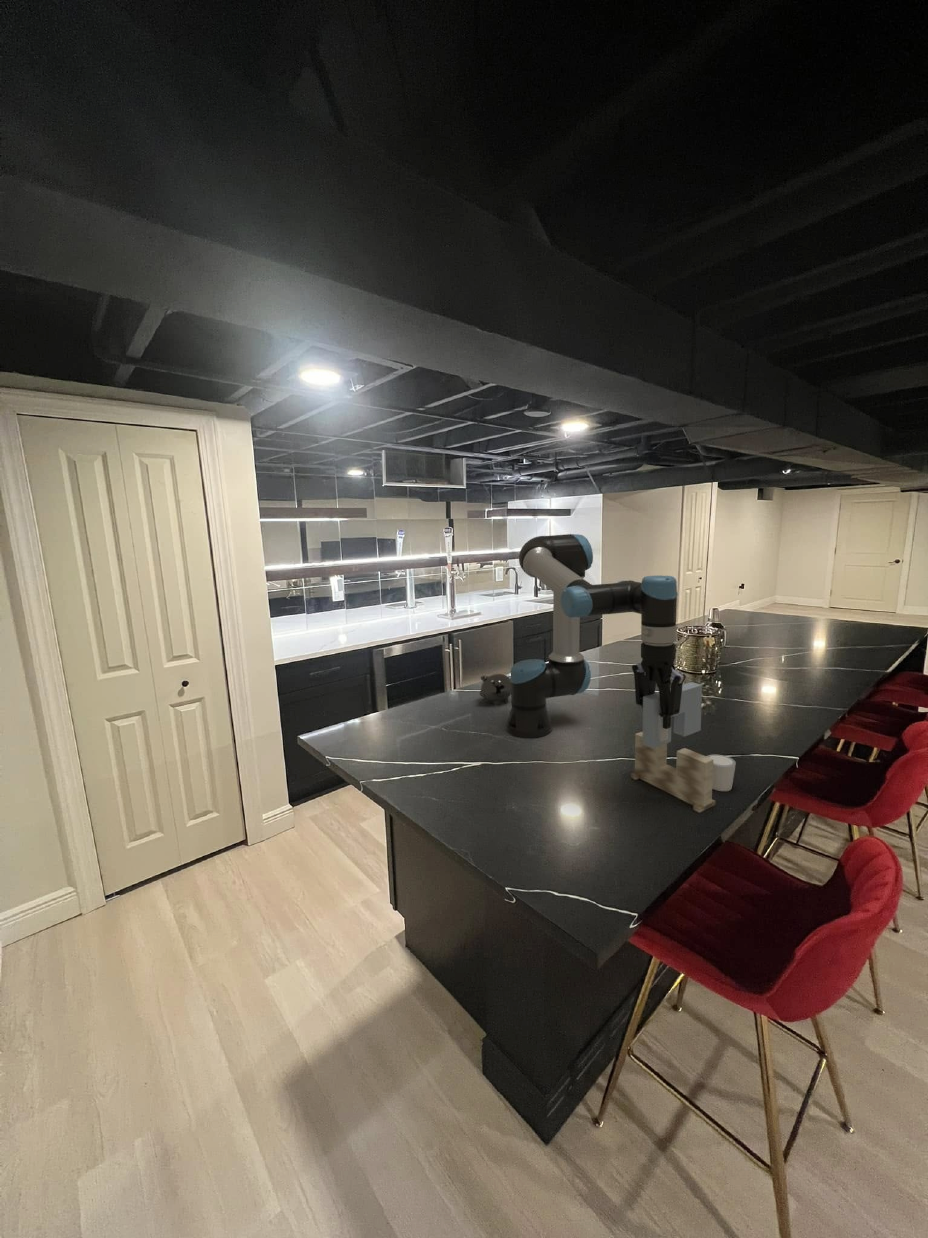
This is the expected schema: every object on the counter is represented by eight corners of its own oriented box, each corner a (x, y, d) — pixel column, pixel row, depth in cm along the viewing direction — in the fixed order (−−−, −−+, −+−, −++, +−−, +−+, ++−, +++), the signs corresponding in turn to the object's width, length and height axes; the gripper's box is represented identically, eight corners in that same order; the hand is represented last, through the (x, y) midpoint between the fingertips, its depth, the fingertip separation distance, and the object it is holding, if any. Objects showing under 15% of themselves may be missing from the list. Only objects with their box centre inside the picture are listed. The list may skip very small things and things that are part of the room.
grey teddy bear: (473, 703, 191) (472, 675, 189) (504, 695, 198) (503, 668, 196) (489, 711, 181) (487, 682, 179) (520, 702, 189) (519, 674, 187)
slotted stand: (630, 777, 128) (631, 735, 126) (646, 771, 131) (646, 729, 129) (699, 812, 111) (701, 764, 109) (715, 804, 114) (717, 757, 112)
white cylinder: (707, 776, 127) (708, 751, 126) (737, 783, 123) (738, 758, 121) (701, 787, 122) (702, 761, 120) (731, 795, 117) (732, 769, 116)
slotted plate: (652, 748, 113) (653, 700, 111) (642, 744, 115) (643, 696, 113) (700, 730, 121) (702, 685, 119) (689, 726, 124) (691, 682, 122)
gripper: (619, 639, 116) (619, 730, 120) (678, 651, 103) (675, 753, 107) (640, 635, 120) (639, 723, 124) (700, 645, 106) (696, 745, 110)
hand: (656, 737), depth 115 cm, fingers closed on slotted plate, 3 cm apart
